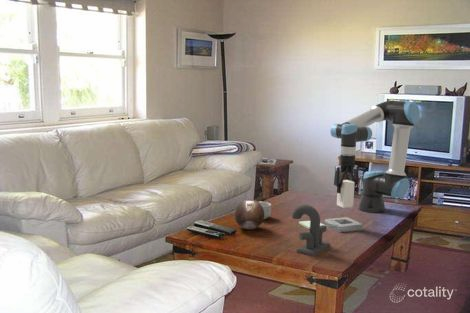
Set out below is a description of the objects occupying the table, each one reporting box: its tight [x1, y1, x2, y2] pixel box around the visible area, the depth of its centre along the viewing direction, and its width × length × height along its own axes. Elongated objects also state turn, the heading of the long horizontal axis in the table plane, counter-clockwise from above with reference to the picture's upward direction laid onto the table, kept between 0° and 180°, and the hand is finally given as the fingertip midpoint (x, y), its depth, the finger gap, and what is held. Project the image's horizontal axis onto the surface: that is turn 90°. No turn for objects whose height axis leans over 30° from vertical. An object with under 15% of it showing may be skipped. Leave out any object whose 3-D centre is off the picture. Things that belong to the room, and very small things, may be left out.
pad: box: [298, 220, 326, 230], centre depth 274 cm, size 10×10×1 cm
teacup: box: [257, 200, 272, 220], centre depth 286 cm, size 14×11×8 cm
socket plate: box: [323, 216, 364, 233], centre depth 272 cm, size 14×14×3 cm
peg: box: [336, 179, 355, 209], centre depth 269 cm, size 6×6×13 cm
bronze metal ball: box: [234, 199, 265, 230], centre depth 264 cm, size 15×15×15 cm
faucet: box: [291, 204, 331, 257], centre depth 238 cm, size 18×16×20 cm
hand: (345, 198), depth 270 cm, fingers closed on peg, 6 cm apart
